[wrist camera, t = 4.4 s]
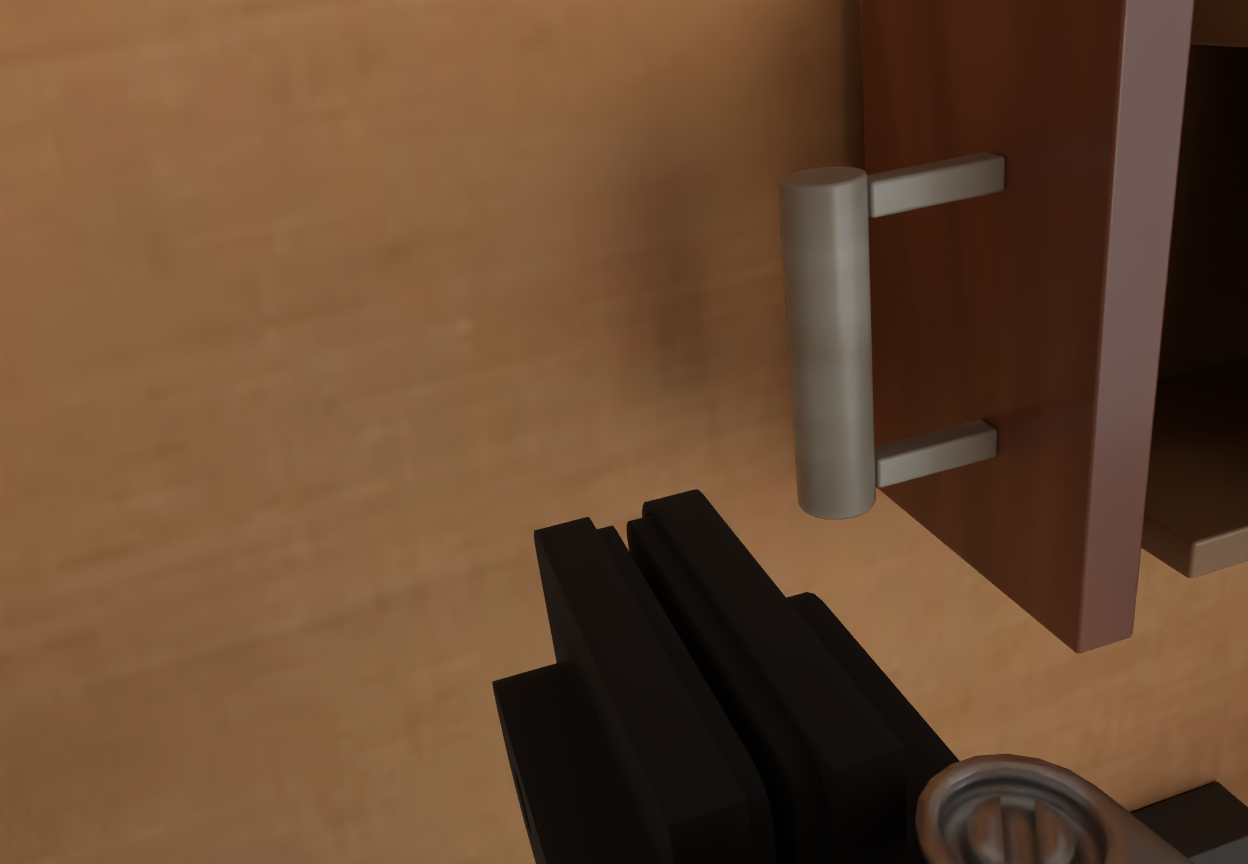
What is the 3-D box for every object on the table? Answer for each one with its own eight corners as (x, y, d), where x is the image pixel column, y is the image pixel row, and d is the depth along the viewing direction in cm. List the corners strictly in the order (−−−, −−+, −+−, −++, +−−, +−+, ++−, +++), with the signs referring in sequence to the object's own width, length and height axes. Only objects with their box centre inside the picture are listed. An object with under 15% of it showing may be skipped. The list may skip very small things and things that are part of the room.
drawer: (721, 526, 24) (881, 719, 18) (670, -1, 19) (862, 0, 13) (1295, 372, 28) (1602, 486, 21) (1370, -107, 23) (1796, -146, 16)
